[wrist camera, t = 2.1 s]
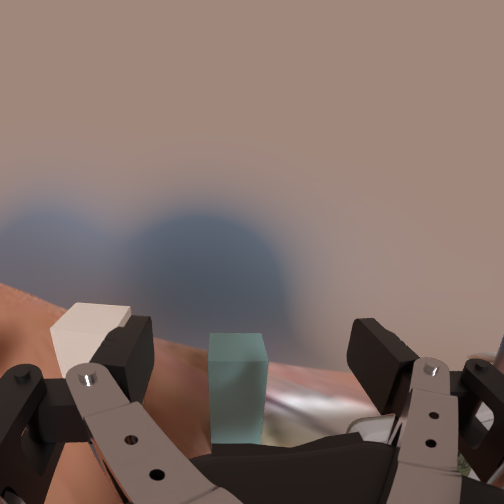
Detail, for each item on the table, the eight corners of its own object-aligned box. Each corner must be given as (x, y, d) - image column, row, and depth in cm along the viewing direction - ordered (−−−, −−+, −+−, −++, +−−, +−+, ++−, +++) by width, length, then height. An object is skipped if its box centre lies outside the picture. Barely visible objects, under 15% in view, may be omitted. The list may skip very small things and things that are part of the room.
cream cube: (136, 358, 29) (130, 306, 27) (122, 393, 23) (111, 335, 22) (86, 353, 28) (76, 302, 27) (65, 384, 22) (49, 328, 21)
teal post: (254, 420, 29) (261, 333, 26) (259, 451, 24) (268, 361, 22) (211, 421, 28) (209, 332, 26) (211, 452, 24) (207, 361, 21)
